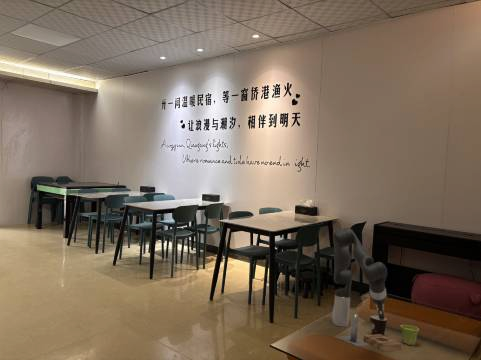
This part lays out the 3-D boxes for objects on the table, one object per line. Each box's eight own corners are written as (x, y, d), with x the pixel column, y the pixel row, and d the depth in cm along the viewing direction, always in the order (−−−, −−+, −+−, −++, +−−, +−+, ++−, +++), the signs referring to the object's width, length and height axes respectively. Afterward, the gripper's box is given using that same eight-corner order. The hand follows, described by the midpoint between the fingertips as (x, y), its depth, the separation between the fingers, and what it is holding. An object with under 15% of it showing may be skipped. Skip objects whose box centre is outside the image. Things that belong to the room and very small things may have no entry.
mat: (337, 337, 206) (337, 336, 206) (351, 336, 210) (351, 335, 210) (355, 346, 193) (355, 346, 193) (370, 345, 198) (370, 344, 198)
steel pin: (349, 340, 201) (350, 313, 202) (353, 340, 203) (355, 313, 204) (353, 342, 198) (355, 315, 199) (357, 342, 200) (359, 315, 201)
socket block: (363, 342, 202) (363, 335, 202) (380, 340, 207) (380, 334, 207) (383, 352, 189) (383, 345, 190) (400, 350, 194) (401, 343, 195)
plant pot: (415, 348, 200) (416, 331, 201) (397, 342, 206) (398, 326, 207) (420, 344, 207) (421, 328, 208) (403, 339, 213) (403, 323, 214)
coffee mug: (387, 339, 210) (388, 321, 211) (370, 337, 212) (372, 318, 213) (383, 333, 222) (384, 315, 222) (368, 330, 223) (369, 313, 224)
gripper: (368, 281, 191) (371, 299, 200) (371, 305, 180) (374, 324, 189) (384, 280, 188) (386, 299, 198) (388, 305, 178) (390, 324, 187)
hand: (380, 311), depth 193 cm, fingers open, 8 cm apart
